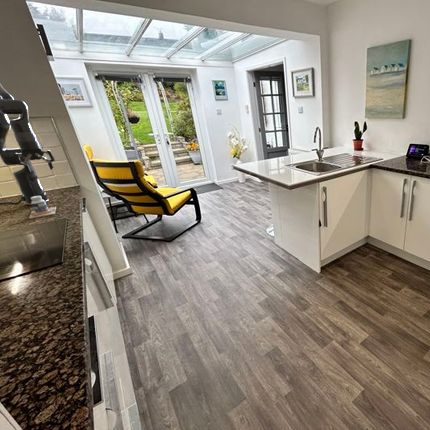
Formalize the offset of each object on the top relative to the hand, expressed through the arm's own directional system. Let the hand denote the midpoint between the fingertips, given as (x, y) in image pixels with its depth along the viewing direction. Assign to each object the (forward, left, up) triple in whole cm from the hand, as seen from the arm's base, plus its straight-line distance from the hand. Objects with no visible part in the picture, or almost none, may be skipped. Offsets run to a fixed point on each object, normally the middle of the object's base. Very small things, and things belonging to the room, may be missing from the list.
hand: (41, 170), depth 145 cm
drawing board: (+1, -8, -22) cm, 23 cm away
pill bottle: (+1, -8, -22) cm, 23 cm away
